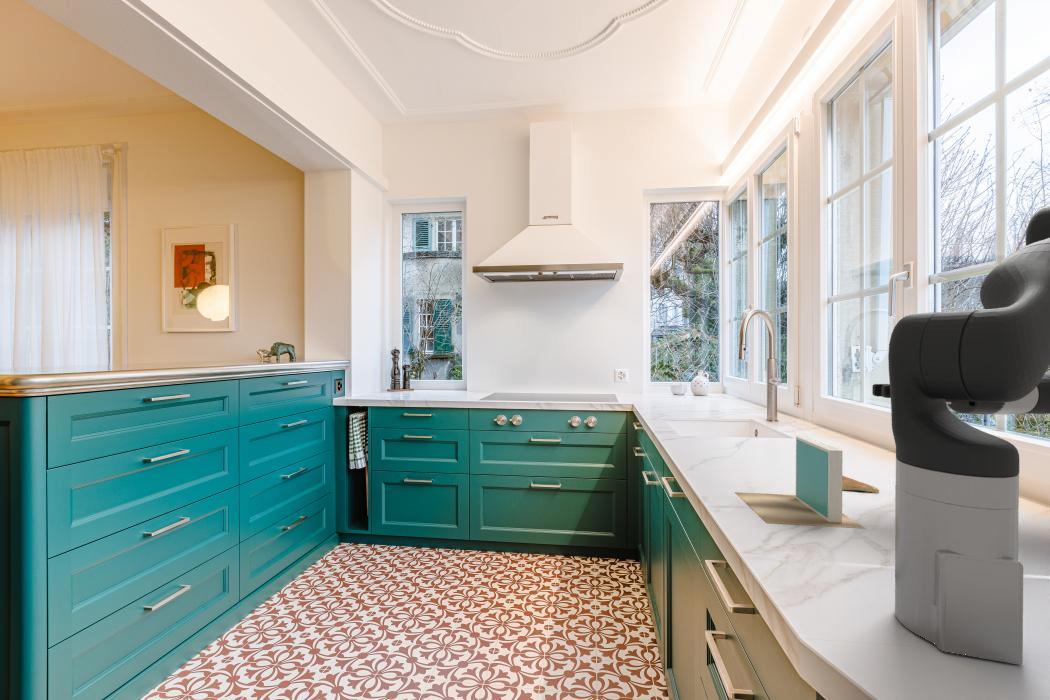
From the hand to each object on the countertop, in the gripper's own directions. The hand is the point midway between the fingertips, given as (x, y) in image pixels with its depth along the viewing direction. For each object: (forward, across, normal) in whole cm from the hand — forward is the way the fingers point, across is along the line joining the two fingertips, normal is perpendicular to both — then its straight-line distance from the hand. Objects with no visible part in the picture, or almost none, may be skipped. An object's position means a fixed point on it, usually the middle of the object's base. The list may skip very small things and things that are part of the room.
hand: (878, 390), depth 79 cm
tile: (+10, 0, +22) cm, 24 cm away
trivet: (+14, 0, +22) cm, 26 cm away
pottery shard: (-3, -15, +23) cm, 27 cm away
